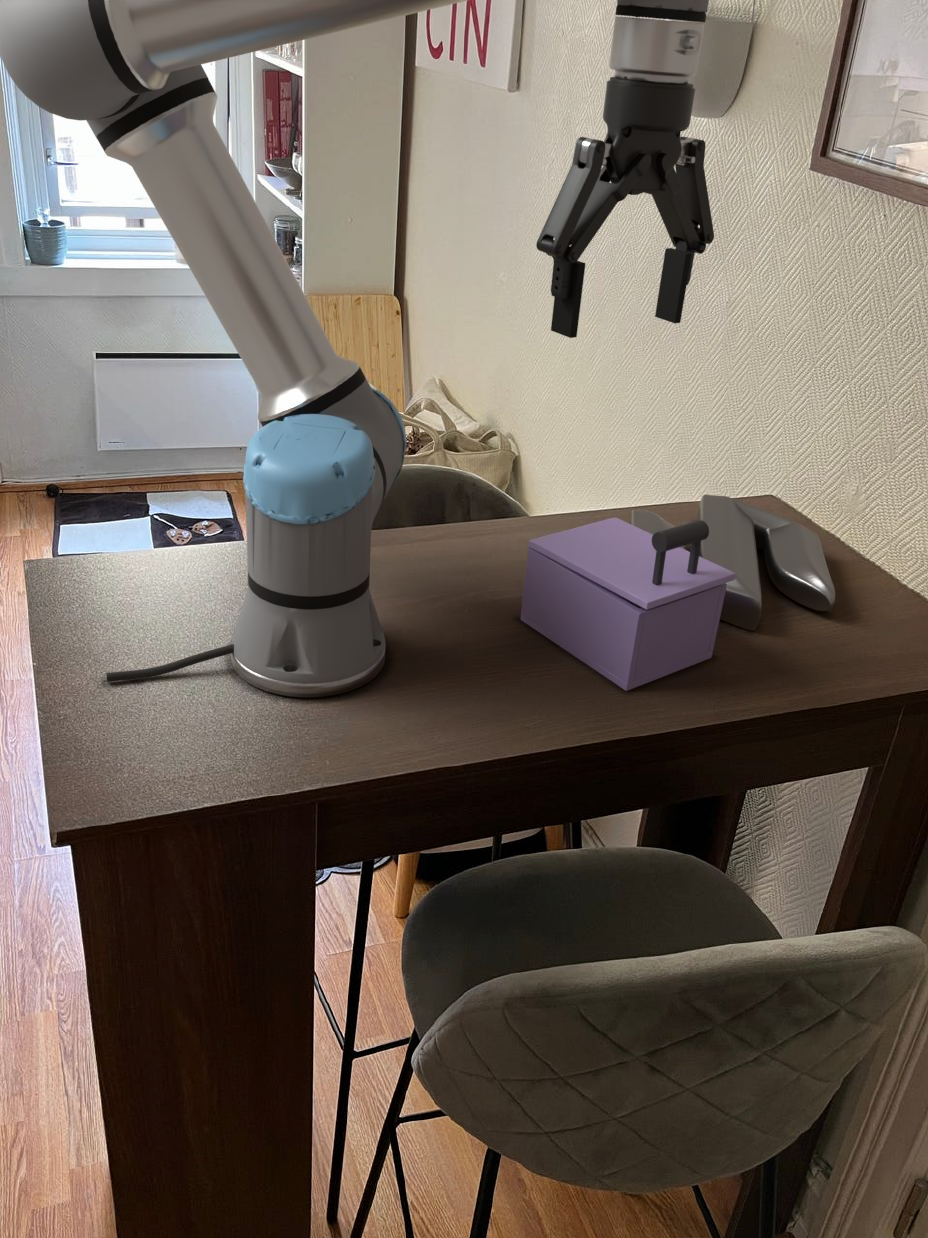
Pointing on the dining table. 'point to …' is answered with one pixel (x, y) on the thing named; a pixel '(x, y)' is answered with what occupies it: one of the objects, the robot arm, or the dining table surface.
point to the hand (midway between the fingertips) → (617, 326)
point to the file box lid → (637, 559)
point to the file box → (618, 624)
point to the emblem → (735, 549)
